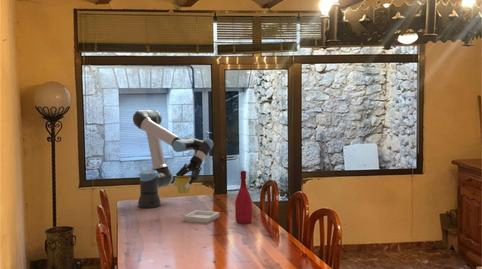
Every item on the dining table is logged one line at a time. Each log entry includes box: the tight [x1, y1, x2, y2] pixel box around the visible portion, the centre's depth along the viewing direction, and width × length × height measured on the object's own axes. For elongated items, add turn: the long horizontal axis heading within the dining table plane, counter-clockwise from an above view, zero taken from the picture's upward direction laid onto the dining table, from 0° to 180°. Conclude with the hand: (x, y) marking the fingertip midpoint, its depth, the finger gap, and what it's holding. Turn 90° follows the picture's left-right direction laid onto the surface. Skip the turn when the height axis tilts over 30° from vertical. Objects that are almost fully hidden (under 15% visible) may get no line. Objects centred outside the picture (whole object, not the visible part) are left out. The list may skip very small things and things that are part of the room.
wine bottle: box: [234, 170, 253, 224], centre depth 299 cm, size 10×10×30 cm
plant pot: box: [174, 175, 191, 194], centre depth 324 cm, size 10×10×10 cm
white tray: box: [183, 209, 220, 224], centre depth 307 cm, size 16×16×3 cm
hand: (180, 186), depth 322 cm, fingers closed on plant pot, 10 cm apart
